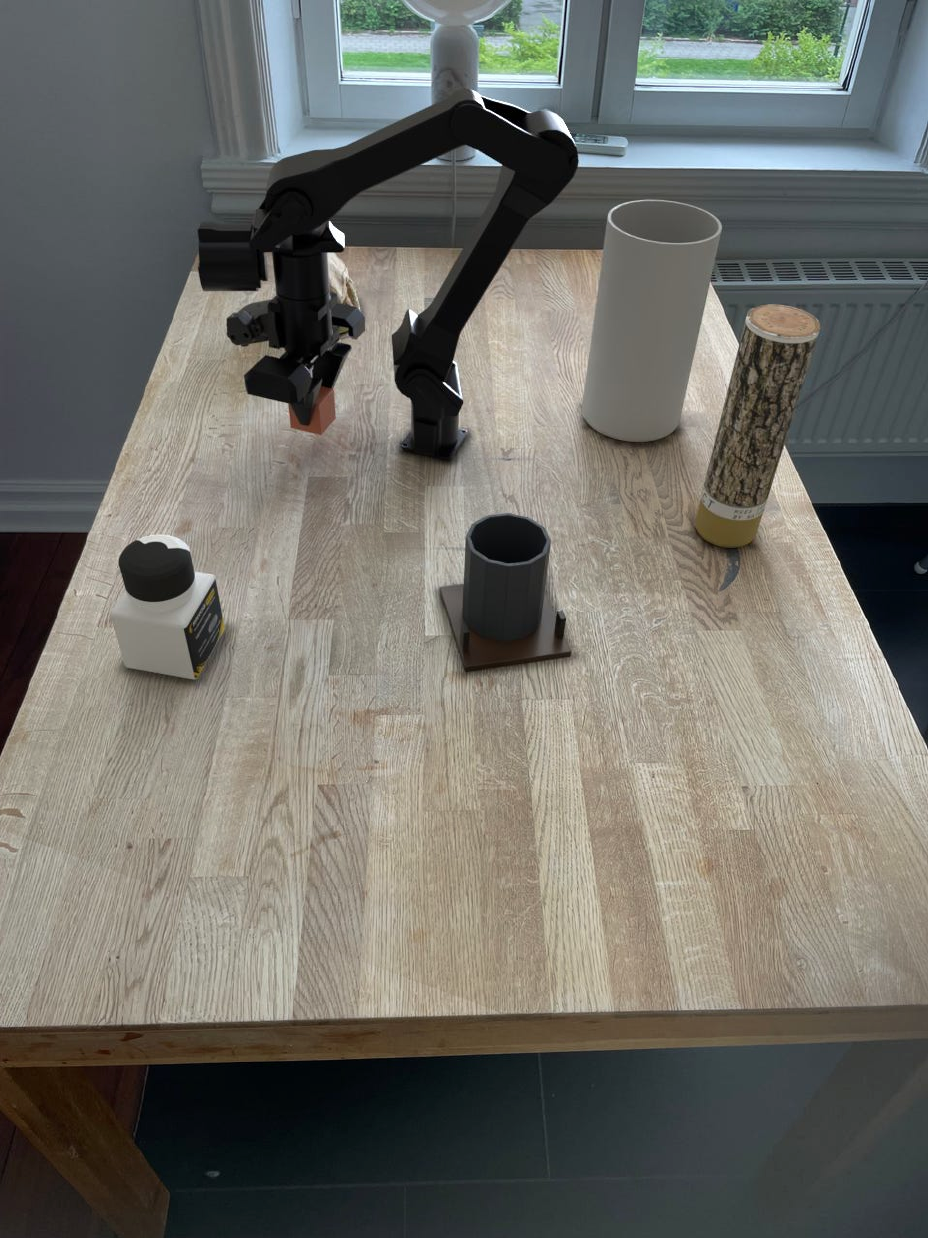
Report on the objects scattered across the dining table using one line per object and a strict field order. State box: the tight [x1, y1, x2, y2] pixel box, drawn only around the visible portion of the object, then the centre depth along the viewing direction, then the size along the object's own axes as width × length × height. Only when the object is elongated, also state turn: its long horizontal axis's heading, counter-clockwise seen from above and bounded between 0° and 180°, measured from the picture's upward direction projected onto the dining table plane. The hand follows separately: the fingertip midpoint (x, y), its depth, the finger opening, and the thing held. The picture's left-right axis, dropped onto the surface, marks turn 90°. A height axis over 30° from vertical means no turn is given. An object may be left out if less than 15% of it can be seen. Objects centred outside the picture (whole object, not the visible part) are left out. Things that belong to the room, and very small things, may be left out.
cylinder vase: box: [581, 199, 723, 443], centre depth 116 cm, size 12×12×25 cm
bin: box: [462, 512, 552, 642], centre depth 92 cm, size 8×8×10 cm
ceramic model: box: [327, 253, 361, 334], centre depth 138 cm, size 14×11×10 cm
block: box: [287, 386, 337, 436], centre depth 114 cm, size 4×4×4 cm
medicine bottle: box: [109, 534, 226, 680], centre depth 88 cm, size 7×7×12 cm
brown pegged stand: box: [438, 583, 572, 673], centre depth 95 cm, size 11×10×3 cm
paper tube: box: [694, 303, 821, 549], centre depth 99 cm, size 7×7×25 cm
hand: (313, 415), depth 114 cm, fingers closed on block, 4 cm apart
